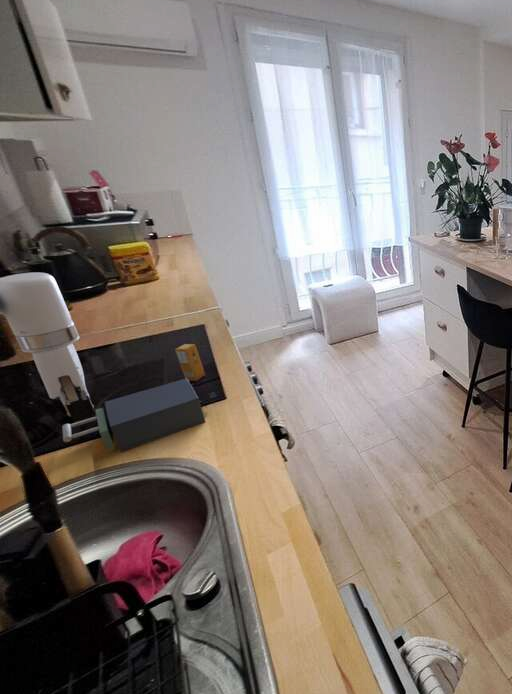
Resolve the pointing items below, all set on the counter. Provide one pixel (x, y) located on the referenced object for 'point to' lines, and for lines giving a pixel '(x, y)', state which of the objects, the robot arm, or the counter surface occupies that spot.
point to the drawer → (102, 427)
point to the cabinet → (153, 413)
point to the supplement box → (190, 362)
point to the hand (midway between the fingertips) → (84, 415)
